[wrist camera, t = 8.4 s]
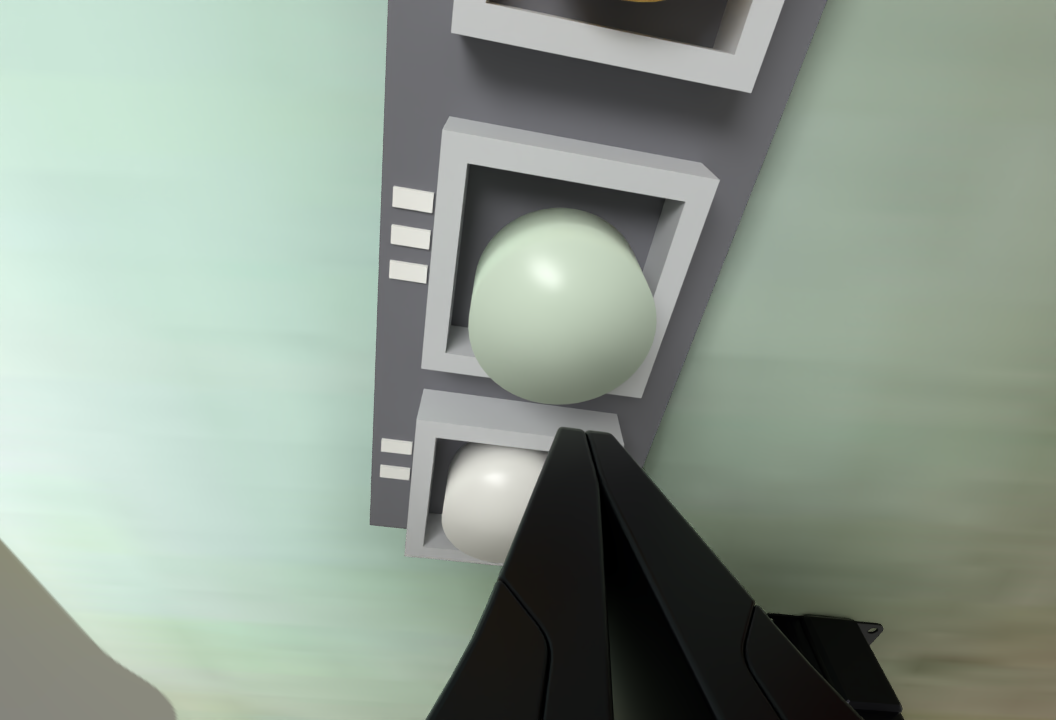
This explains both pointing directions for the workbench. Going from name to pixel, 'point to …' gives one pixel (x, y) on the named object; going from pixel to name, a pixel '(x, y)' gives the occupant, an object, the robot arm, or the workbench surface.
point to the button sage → (560, 308)
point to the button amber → (644, 0)
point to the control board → (555, 200)
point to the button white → (488, 497)
